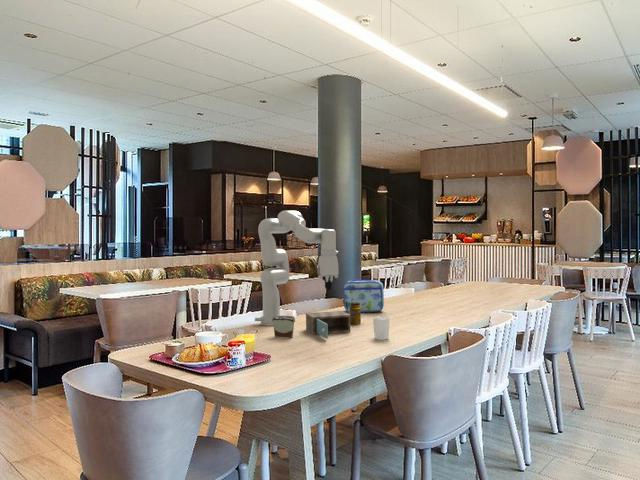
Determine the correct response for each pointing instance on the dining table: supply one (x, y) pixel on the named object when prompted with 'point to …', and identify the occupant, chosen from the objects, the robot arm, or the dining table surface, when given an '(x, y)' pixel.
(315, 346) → the dining table surface
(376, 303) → the lunch box
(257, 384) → the dining table surface
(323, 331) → the door
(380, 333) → the white cup
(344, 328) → the bread box
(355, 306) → the condiment
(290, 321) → the food container
